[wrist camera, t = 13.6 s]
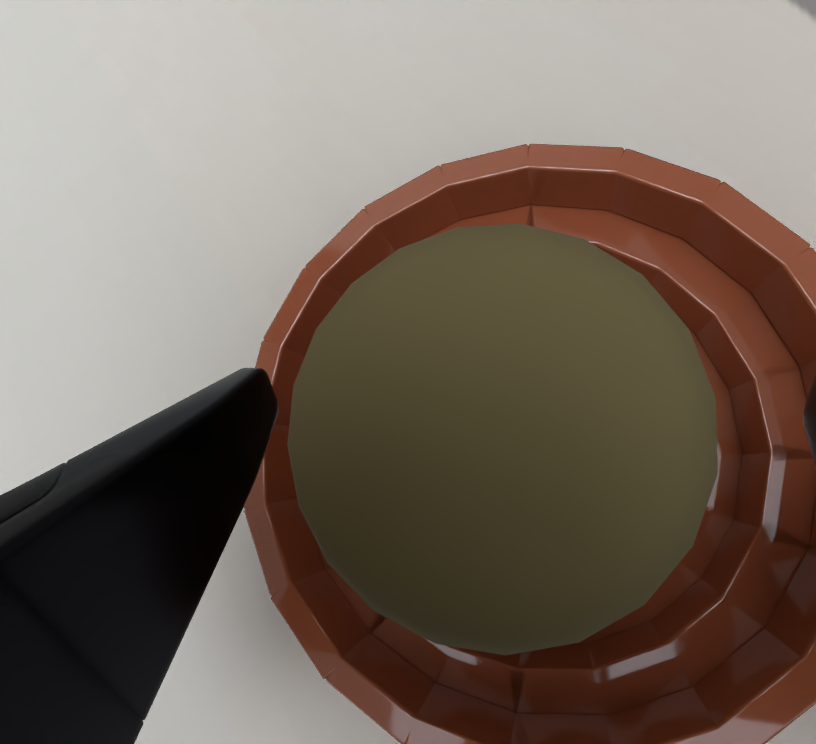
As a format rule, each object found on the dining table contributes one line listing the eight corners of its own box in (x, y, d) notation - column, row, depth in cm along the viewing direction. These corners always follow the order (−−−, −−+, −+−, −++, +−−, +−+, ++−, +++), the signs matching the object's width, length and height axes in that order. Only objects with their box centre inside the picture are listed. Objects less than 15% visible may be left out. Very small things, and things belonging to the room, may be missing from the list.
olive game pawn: (451, 336, 17) (276, 125, 6) (654, 368, 15) (869, 148, 5) (410, 524, 16) (142, 632, 6) (618, 582, 14) (775, 892, 4)
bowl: (641, 821, 14) (678, 979, 10) (244, 518, 18) (149, 533, 14) (904, 345, 14) (1056, 292, 10) (446, 163, 19) (412, 74, 14)
